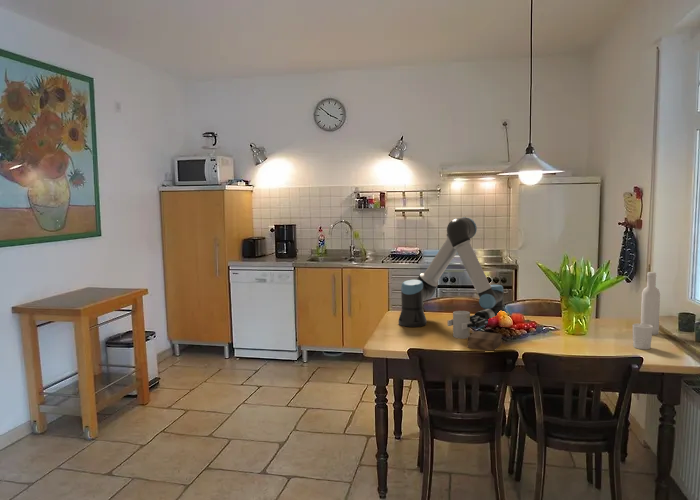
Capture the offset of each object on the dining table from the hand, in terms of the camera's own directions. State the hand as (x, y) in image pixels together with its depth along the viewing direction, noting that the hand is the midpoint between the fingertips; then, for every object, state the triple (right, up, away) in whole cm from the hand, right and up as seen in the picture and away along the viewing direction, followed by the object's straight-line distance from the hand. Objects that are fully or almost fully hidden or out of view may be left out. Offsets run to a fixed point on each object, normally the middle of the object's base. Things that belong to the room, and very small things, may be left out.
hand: (455, 325), depth 253 cm
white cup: (+79, -7, -21) cm, 82 cm away
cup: (+4, -6, +4) cm, 8 cm away
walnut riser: (+11, -8, -14) cm, 19 cm away
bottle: (+96, -4, +3) cm, 96 cm away
